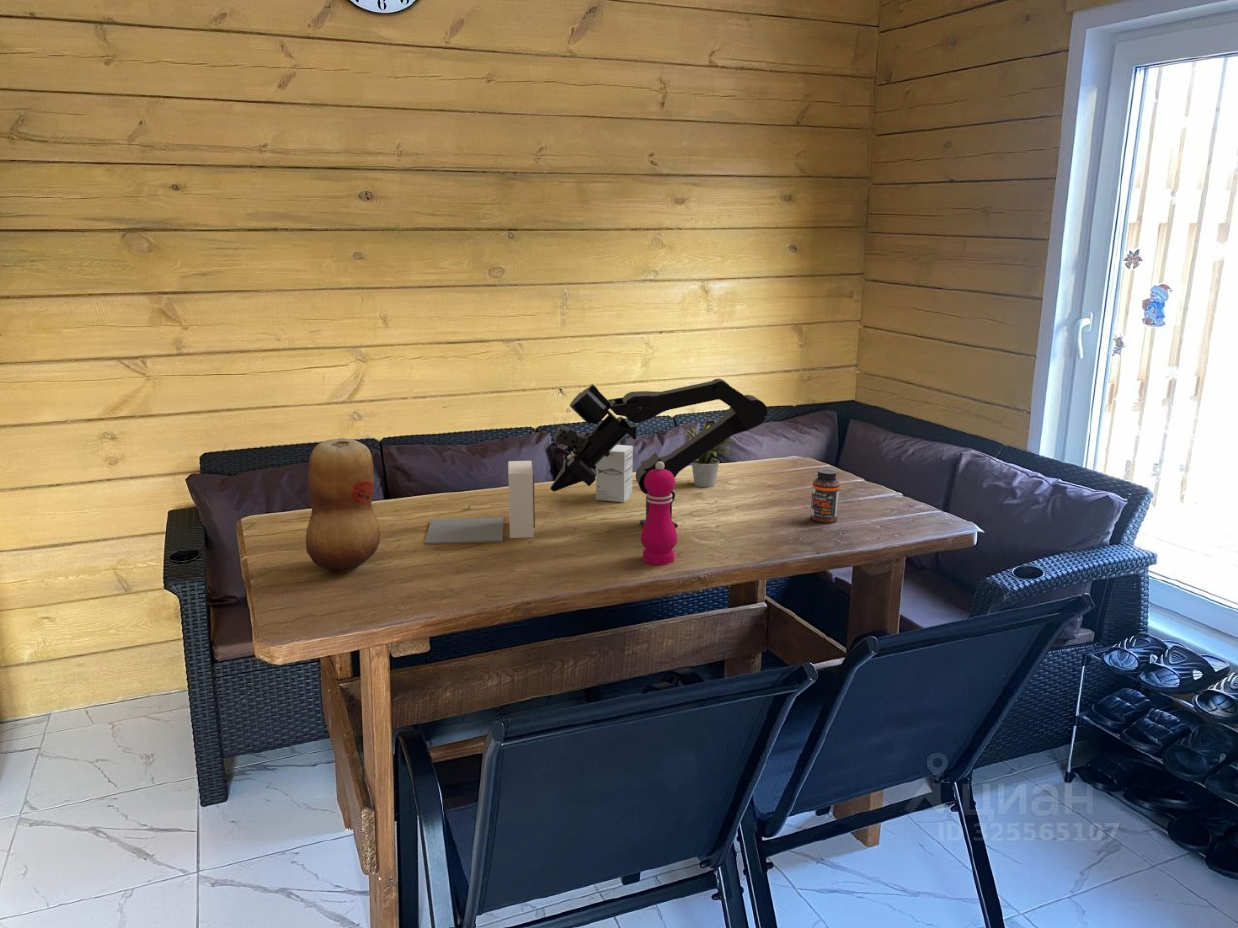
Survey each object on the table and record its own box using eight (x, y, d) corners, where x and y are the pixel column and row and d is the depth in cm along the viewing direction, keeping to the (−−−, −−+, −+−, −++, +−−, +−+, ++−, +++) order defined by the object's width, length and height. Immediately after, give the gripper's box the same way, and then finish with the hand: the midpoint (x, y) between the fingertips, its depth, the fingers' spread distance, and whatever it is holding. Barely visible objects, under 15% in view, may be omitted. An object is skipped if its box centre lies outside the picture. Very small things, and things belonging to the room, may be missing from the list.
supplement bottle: (809, 522, 213) (812, 473, 210) (811, 514, 219) (813, 466, 216) (837, 524, 212) (840, 474, 209) (837, 516, 217) (840, 468, 215)
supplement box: (595, 500, 229) (594, 449, 226) (604, 492, 236) (604, 442, 233) (624, 503, 227) (624, 451, 224) (633, 495, 234) (633, 444, 231)
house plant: (701, 496, 233) (703, 431, 229) (663, 484, 243) (664, 422, 239) (742, 486, 242) (744, 423, 238) (703, 476, 252) (705, 415, 248)
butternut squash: (345, 585, 175) (336, 452, 169) (293, 573, 181) (282, 444, 175) (397, 563, 186) (390, 437, 180) (346, 551, 193) (338, 430, 187)
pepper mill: (632, 559, 189) (633, 461, 184) (657, 551, 194) (659, 455, 189) (659, 568, 184) (660, 468, 179) (684, 560, 189) (686, 461, 184)
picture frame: (534, 521, 213) (532, 460, 210) (535, 537, 202) (534, 473, 199) (510, 522, 212) (508, 461, 209) (510, 538, 202) (508, 473, 198)
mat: (503, 519, 215) (503, 517, 214) (502, 541, 199) (502, 540, 199) (431, 521, 213) (430, 519, 213) (424, 544, 197) (424, 542, 197)
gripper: (573, 405, 211) (524, 454, 213) (579, 421, 193) (525, 475, 195) (609, 439, 214) (559, 487, 216) (617, 459, 196) (564, 511, 198)
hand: (551, 489), depth 206 cm, fingers closed
